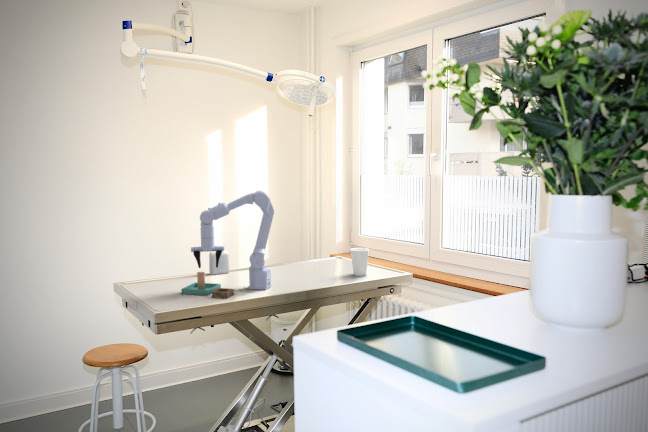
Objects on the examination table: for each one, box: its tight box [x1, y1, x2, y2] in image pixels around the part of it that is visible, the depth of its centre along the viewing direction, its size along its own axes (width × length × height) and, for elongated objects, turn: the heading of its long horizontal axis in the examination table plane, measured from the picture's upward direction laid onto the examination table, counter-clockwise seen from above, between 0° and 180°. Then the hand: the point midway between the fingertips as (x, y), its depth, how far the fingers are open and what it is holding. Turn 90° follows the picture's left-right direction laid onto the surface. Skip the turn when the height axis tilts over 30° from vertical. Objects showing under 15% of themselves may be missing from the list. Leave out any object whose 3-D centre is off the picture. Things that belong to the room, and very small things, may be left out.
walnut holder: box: [211, 287, 235, 299], centre depth 237 cm, size 7×7×2 cm
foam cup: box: [350, 247, 370, 277], centre depth 279 cm, size 10×9×13 cm
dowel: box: [196, 271, 206, 290], centre depth 245 cm, size 3×3×8 cm
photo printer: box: [208, 249, 230, 276], centre depth 283 cm, size 10×4×12 cm, turn 123°
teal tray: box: [180, 282, 222, 296], centre depth 246 cm, size 13×13×2 cm
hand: (208, 267), depth 247 cm, fingers open, 7 cm apart
